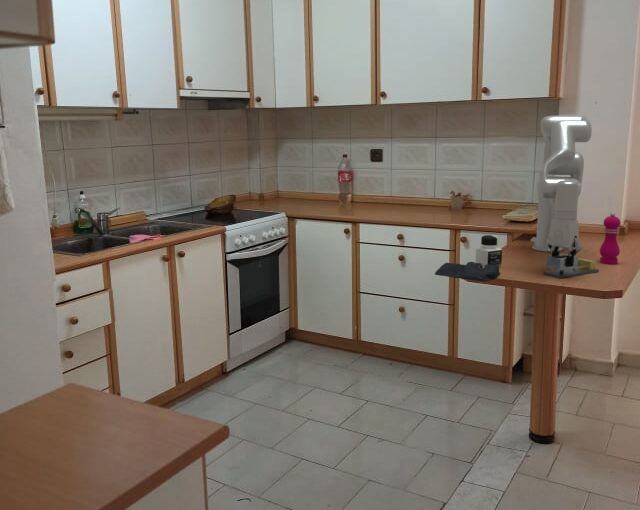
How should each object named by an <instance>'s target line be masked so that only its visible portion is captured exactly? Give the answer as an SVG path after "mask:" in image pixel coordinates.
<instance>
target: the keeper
mask: <svg viewBox="0 0 640 510" xmlns="http://www.w3.org/2000/svg"><path fill="white" fill-rule="evenodd" d="M599 272H600V269H599V268H598V269H597V260H592V259H588V258H584V257H583V258H578V264H577V268H572V269H566V270H556V269H550V270H544V271H543V273H542V274H543V275H545V276H548V277H552V278H556V279H567V278H571V277H572V278H573V277H579V276H583V275H589V274H591V275H592V274H596V273H599Z"/></svg>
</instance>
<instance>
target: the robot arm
mask: <svg viewBox="0 0 640 510" xmlns="http://www.w3.org/2000/svg"><path fill="white" fill-rule="evenodd" d="M592 130H593V129H592V124H591V121H590V120H589V118H588V117H586V116H585V115H548V116H544V117H542V119H541V121H540V131H541V133H542V134H541V135H542V137H543V140H544V150H543V162H542V166H541V168H540V172H539V176H538V177H539V180H538V181H537V196H538V197H537V198H538V201H537V202H538V205H537V206H538V209H537V224H536V225H537V226H536V237H534V236H533V237H531V238H530V242H531V243H534V244H533V245H532V247H531V248H532V249H533V250H534V251H539V252H545V253H546V252H547V253H551V256H554V255H560V252H561V251H563V250H564V249H566V252H567V255H568V256H567V257H566V267H571V266H573V264H574V256H577V254H578V253H579V252H580V251H581V250H582V249H583V245H582V244H581V242H580V241H579V239H580V238H579V237H580V235H579V233H580V232H579V229H580V228H579V221H578V220H577V217H578V206H579V205H578V204H579V197H580V196H581V191H582V186H583V185H582V184H583V177H584V168H585V167H584V166H585V165H584V164H585V161H584V156H583V154H581V153H580V152H577V151H576V143H587V142H589V141H590V140H591V138H592V134H593V131H592ZM548 175H551V176H548ZM553 175H554V176H553Z"/></svg>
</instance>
